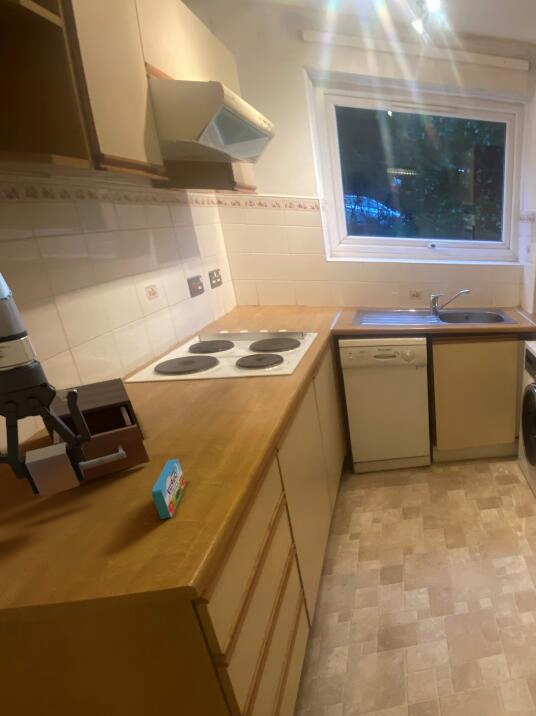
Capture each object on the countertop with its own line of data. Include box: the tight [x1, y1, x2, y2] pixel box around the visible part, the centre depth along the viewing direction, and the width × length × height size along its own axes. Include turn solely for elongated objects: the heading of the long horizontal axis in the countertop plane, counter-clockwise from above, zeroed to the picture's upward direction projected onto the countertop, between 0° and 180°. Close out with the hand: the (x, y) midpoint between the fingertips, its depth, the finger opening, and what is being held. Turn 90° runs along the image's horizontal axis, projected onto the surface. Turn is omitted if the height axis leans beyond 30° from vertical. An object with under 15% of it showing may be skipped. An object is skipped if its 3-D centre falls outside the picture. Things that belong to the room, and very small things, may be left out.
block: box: [25, 443, 81, 498], centre depth 78 cm, size 5×5×7 cm
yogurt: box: [151, 458, 187, 520], centre depth 84 cm, size 12×2×6 cm, turn 24°
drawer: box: [54, 405, 151, 483], centre depth 94 cm, size 24×14×9 cm, turn 45°
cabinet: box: [41, 377, 145, 445], centre depth 106 cm, size 20×15×11 cm
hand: (60, 483), depth 79 cm, fingers closed on block, 5 cm apart
